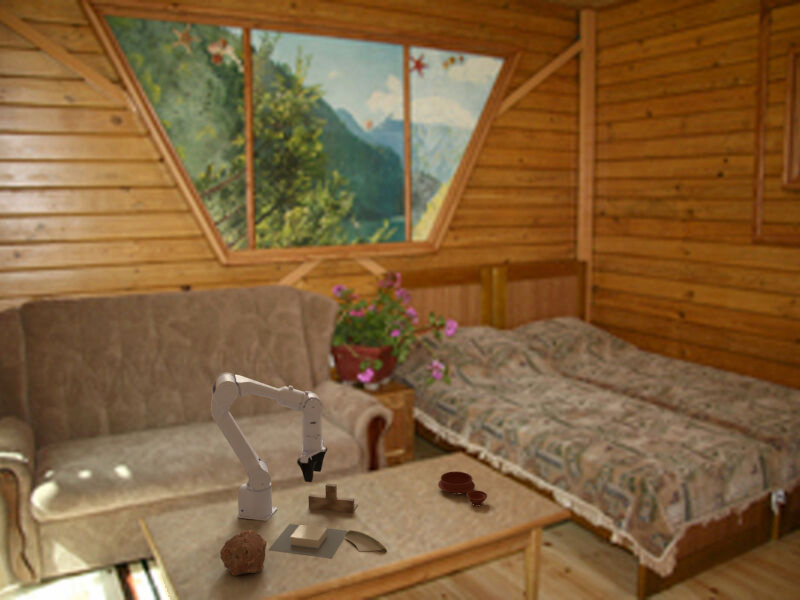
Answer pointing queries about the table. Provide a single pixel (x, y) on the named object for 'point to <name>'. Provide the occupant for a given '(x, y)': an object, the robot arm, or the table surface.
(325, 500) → the walnut scraper
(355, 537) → the ceramic fragment
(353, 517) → the table surface
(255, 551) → the decorative rock
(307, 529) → the light tan wooden block
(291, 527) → the charcoal mat
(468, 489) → the pottery
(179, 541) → the table surface
